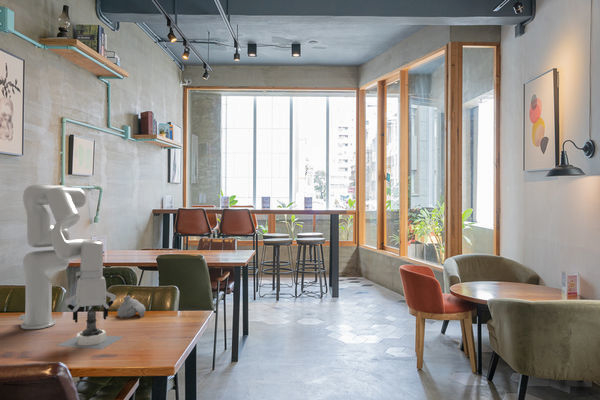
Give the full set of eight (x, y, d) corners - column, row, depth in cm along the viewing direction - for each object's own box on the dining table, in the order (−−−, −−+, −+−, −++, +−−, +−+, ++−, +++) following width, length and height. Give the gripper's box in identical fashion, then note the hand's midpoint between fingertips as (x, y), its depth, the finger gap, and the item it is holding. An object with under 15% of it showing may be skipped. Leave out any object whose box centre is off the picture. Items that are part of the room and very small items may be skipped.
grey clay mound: (120, 325, 197) (113, 303, 196) (119, 319, 208) (112, 298, 207) (147, 315, 202) (141, 293, 201) (145, 309, 213) (138, 288, 211)
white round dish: (71, 344, 160) (71, 336, 160) (88, 336, 169) (88, 328, 169) (94, 346, 159) (94, 337, 159) (110, 338, 168) (110, 330, 168)
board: (56, 348, 159) (56, 345, 159) (82, 336, 172) (82, 333, 172) (101, 352, 156) (101, 349, 156) (124, 340, 169) (124, 336, 169)
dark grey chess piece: (85, 337, 166) (86, 306, 167) (102, 337, 167) (102, 306, 167) (79, 343, 161) (80, 310, 161) (96, 342, 161) (96, 309, 161)
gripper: (65, 277, 156) (64, 325, 157) (117, 274, 165) (116, 320, 165) (64, 274, 163) (63, 320, 163) (115, 271, 172) (114, 315, 172)
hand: (90, 320), depth 164 cm, fingers open, 9 cm apart
